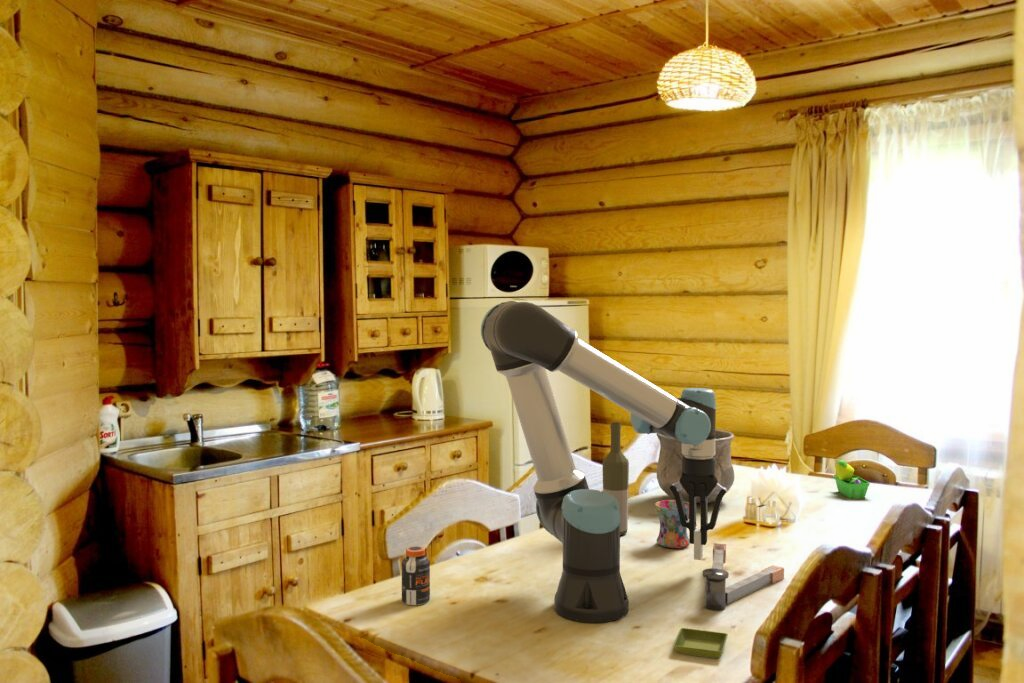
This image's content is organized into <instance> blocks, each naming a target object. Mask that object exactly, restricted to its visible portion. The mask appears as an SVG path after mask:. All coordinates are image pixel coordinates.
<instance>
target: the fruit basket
mask: <svg viewBox="0 0 1024 683" xmlns="http://www.w3.org/2000/svg"><path fill="white" fill-rule="evenodd" d="M835 471H836V472H835V473H836V475H833V478H834V480H835V484H836V489H837V492H838V493H840V494H841V495H843V496H844V497H846V498H847V499H865V498H866V495H867V491H868V489H869V486H870V482H869V481H867V480H865V479H863V478H861V477H860V476H858V475H854V472H855V469H854V467H852V466H851V465H850V464H848V463H847V462H846V461H845V460H842V459H841V460H837V461H836V463H835Z"/></svg>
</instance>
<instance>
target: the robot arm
mask: <svg viewBox="0 0 1024 683" xmlns="http://www.w3.org/2000/svg"><path fill="white" fill-rule="evenodd" d="M480 335H481V339H482V342H483V343H484V346H485V347H486V348H487V349H488V351H490V354H491V356H492V360H493V363H494V366H495V369H496V372H497V373H499V374H500V375H503V376H504V377H505V378H506V381H507V385H508V387H509V391H510V394H511V397H512V401H513V403H514V404H513V405H514V407H515V410H516V414H517V416H518V420H519V423H520V426H521V429H522V433H523V436H524V439H525V442H526V446H527V448H528V452H529V455H530V458H531V462H532V465H533V468H534V470H535V474H536V478H537V480H536V482H535V484H534V485H533V492H534V495H535V498H536V503H535V512H536V516H537V519H538V521H539V522H540V524H541V526H542V527H543V529H545V531H546V532H548V534H550V535H551V536H553V537H554V538H556V540H558V541H559V542H561V543H562V571H561V575H560V578H559V581H558V582H559V583H558V585H557V589H556V593H555V594H554V598H553V599H554V600H553V602H554V604H553V605H554V606H553V607H554V608H553V609H554V611H555V613H556V614H558V615H559V616H561V617H563V618H565V619H567V620H571V621H575V622H581V623H591V624H592V623H607V622H612V621H617V620H620V619H622V618H623V617H626V615H627V614H628V613H629V611H630V610H629V602H630V601H629V597H628V594H627V591H626V588H625V584H624V581H623V579H622V576H621V569H620V568H621V565H620V564H621V563H620V562H621V535H620V521H621V515H620V510H619V503H618V501H617V499H616V498H615V497H613V496H612V495H610V494H608V493H606V492H603V491H601V490H600V489H599V490H597V489H592V488H591V489H590V488H589V484H588V481H587V478H586V475H585V473H584V471H583V470H580V469H578V468H577V467H576V465H575V463H574V459H573V456H572V452H571V450H570V447H569V442H568V439H567V436H566V433H565V430H564V426H563V422H562V419H561V416H560V412H559V409H558V406H557V403H556V400H555V396H554V393H553V390H552V385H551V382H550V380H549V376H548V373H547V371H546V370H548V371H549V372H550V373H552V372H553V373H554V372H558V371H559V372H560V373H562V374H563V375H565V376H567V377H569V378H571V379H572V380H574V381H576V382H578V383H579V384H581V385H583V386H584V387H586V388H588V389H590V390H591V391H593V392H594V393H596V394H598V395H600V396H601V397H603V398H605V399H607V400H609V401H610V402H612V403H613V404H615V405H617V406H618V407H620V408H622V409H623V410H625V411H628V412H629V413H630V422H631V425H632V428H633V431H635V432H636V433H637V434H645V435H650V434H657V433H658V434H660V435H663V436H666V437H669V438H672V439H675V440H678V441H680V442H682V454H683V455H684V456H683V457H682V475H681V477H680V479H679V481H678V482H677V483H673V484H672V485H671V486H670V490H671V491H672V493H673V494H674V497H675V499H674V500H675V501H676V505H677V509H678V513H679V517H680V522H681V525H682V527H686V528H687V529H688V531H689V533H688V534H689V536H688V538H689V542H690V544H689V545H691V544H692V545H693V560H697V561H701V560H702V559H703V556H704V555H703V551H704V548H703V546H706V544H707V542H708V531H710V530H714V529H715V526H716V525H717V521H718V516H719V512H720V511H721V510H720V509H721V506H722V501H723V498H724V496H725V495H726V494H727V493H728V492H727V488H726V487H722V486H721V485H719V484H718V481H717V479H716V476H715V458H714V457H713V456H714V455H715V444H716V438H715V430H716V413H717V412H716V410H717V404H716V393H715V392H714V390H712V389H711V388H705V387H688V388H683V390H682V391H681V394H680V397H678V398H677V397H675V396H673V395H672V394H670V393H669V392H667V391H665V390H663V389H662V388H661V387H659V386H657V385H655V384H654V383H652V382H651V381H649V380H647V379H646V378H644V377H642V376H641V375H639V374H638V373H636V372H634V371H633V370H631V369H629V368H628V367H626V366H624V365H623V364H621V363H620V362H618V361H617V360H614V359H613V358H611V357H610V356H609V355H606V354H604V353H603V352H602V351H600V350H598V349H597V348H594V346H591V345H590V344H588V343H586V342H585V341H583V339H580V338H579V337H578V332H577V331H576V330H575V329H574V328H572V327H570V326H568V324H565V323H564V322H563V321H561V320H560V319H559V318H557V317H556V316H554V315H552V314H551V313H550V312H548V311H547V310H546V309H544V308H543V307H541V306H539V305H537V304H535V303H533V302H528V301H514V300H508V301H505V302H501V303H498V304H495V305H494V306H492V307H491V308H490V309H488V311H487V312H486V313H485V315H484V317H483V318H482V321H481V325H480ZM681 485H682V487H683V488H684V489H685V491H686V492H687V494H688V495H689V519H688V518H687V514H686V510H685V505H684V501H683V497H682V493H681V490H682V488H681ZM714 488H716V492H715V493H716V494H717V497H716V499H715V501H714V504H713V508H712V512H711V515H710V519H709V520H708V517H709V516H708V515H709V514H708V512H709V511H708V508H709V507H708V506H709V505H708V504H709V503H708V495H709V494H710V493H711V492H712V491H713V489H714ZM726 492H727V493H726ZM725 493H726V494H725ZM697 496H698V497H700V503H699V504H700V505H699V506H700V511H699V512H700V518H699V519H700V522H699V523H700V527H699V528H698V527H697V503H696V499H697ZM696 527H697V528H696Z"/></svg>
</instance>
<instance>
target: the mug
mask: <svg viewBox="0 0 1024 683" xmlns="http://www.w3.org/2000/svg"><path fill="white" fill-rule="evenodd" d="M684 505H685V510H686V514H687V518H688V520H689V503H688V502H685V501H684ZM654 506H655V508H656V512H657V514H658V517H659V518H658V519H659V533H658V536H657V539H656V543H657V544H658V545H660V546H662V547H664V548H668V549H680V548H681V549H682V548H684V547H687V546H689V545H691V544H690V542H689V536H688V530H687V529H688V528H686V527H682V525H681V522H680V517H679V513H678V509H677V505H676V501H675V499H664V500H658V501H656V502H655V503H654Z"/></svg>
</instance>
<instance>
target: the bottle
mask: <svg viewBox="0 0 1024 683" xmlns="http://www.w3.org/2000/svg"><path fill="white" fill-rule="evenodd" d="M621 430H622V425H621V422H610V451H609V452H608V454H606V456H605V457H604V458H603V459H602V492H606V493H608V494H610V495H612V496H613V497H615V498H616V499H617V501H618V503H619V510H620V515H621V521H620V536H623V535H626V534H627V533H628V525H629V524H628V520H629V517H628V516H629V480H630V479H629V476H630V475H629V472H630V462H629V459H628V458H626V456H625V455H624V453H623V452H622V451H621V450H622V449H621Z"/></svg>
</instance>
